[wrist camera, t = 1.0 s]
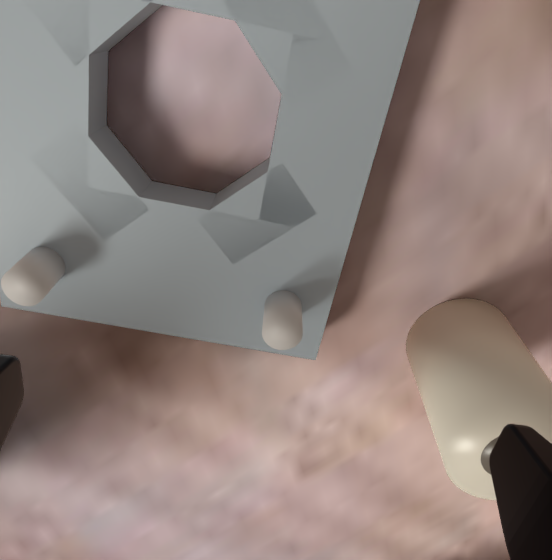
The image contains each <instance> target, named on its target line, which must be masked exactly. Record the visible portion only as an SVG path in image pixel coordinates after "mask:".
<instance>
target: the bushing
mask: <svg viewBox="0 0 552 560" xmlns="http://www.w3.org/2000/svg"><path fill="white" fill-rule="evenodd" d="M406 353H407V357H408V360H409V363H410V366H411V368H412V371H413V374H414V377H415V380H416V383H417V386H418V389H419V392H420V395H421V398H422V401H423V404H424V407H425V410H426V413H427V416H428V419H429V422H430V425H431V428H432V431H433V434H434V437H435V440H436V443H437V446H438V448H439V451H440V454H441V457H442V460H443V463H444V466H445V469H446V472H447V475H448V476H449V478H450V480H451V481H452V482H453V483H454V484H455V485H456V486H457V487H458V488H459V489H461V490H462V491H464V492H466V493H468V494H470V495H472V496H475V497H478V498H482V499H487V500H496V495H495V491H494V486H493V481H492V476H491V472H490V466H489V457H490V453H491V451H492V449H493V447H494V445H495V443H496V441H497V439H498V437H499V435H500V434H501V432H502V430H503V428H504V427H505V426H506V425H507V424H518V425H525V426H529V427H531V428H533V429H534V430H535V431H537V432H538V433H539V434H540V435H542V436H543V437H544V438H545V439H546V440H548V441H549V442H550V443H551V444H552V383H551V381H550V380H549V378H548V377H547V375H546V374H545V373H544V371H543V370H542V368H541V367H540V365H539V364H538V363H537V361H536V360H535V358H534V357H533V356H532V354H531V353H530V351H529V350H528V348H527V347H526V346H525V344H524V343H523V341H522V340H521V338H520V337H519V336H518V334H517V333H516V331H515V330H514V329H513V327H512V326H511V324H510V323H509V321H508V320H507V319H506V317H505V316H504V314H503V313H502V312H501V311H500V310H499V309H498V308H496V307H495V306H493V305H491V304H490V303H487V302H485V301H481V300H477V299H455V300H450V301H446V302H443V303H441V304H438V305H436V306H434V307H432V308H431V309H429V310H428V311H426V312H425V313H424V314H422V315H421V316H420V317H419V318H418V319H417V320H416V322H415V323H414V324H413V326H412V327H411V329H410V331H409V333H408V336H407V340H406Z"/></svg>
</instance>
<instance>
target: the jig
mask: <svg viewBox="0 0 552 560" xmlns="http://www.w3.org/2000/svg"><path fill="white" fill-rule="evenodd" d="M419 2H420V0H0V298H1V306H2V307H8V308H14V309H20V310H26V311H32V312H37V313H43V314H49V315H55V316H61V317H67V318H72V319H78V320H84V321H90V322H96V323H102V324H107V325H113V326H119V327H125V328H131V329H136V330H142V331H148V332H154V333H160V334H166V335H171V336H177V337H183V338H189V339H195V340H201V341H206V342H212V343H218V344H224V345H230V346H235V347H241V348H247V349H253V350H259V351H265V352H270V353H276V354H282V355H288V356H294V357H300V358H305V359H311V360H316V357H317V353H318V350H319V346H320V343H321V339H322V336H323V332H324V329H325V326H326V322H327V319H328V315H329V312H330V308H331V305H332V301H333V298H334V295H335V291H336V288H337V284H338V281H339V277H340V274H341V271H342V267H343V264H344V260H345V257H346V253H347V250H348V246H349V243H350V240H351V236H352V233H353V229H354V226H355V222H356V219H357V215H358V212H359V209H360V205H361V202H362V198H363V195H364V191H365V188H366V185H367V181H368V178H369V174H370V171H371V167H372V164H373V160H374V157H375V154H376V150H377V147H378V143H379V140H380V136H381V133H382V129H383V126H384V123H385V119H386V116H387V112H388V109H389V105H390V102H391V98H392V95H393V92H394V88H395V85H396V81H397V78H398V74H399V71H400V68H401V64H402V61H403V57H404V54H405V50H406V47H407V43H408V40H409V37H410V33H411V30H412V26H413V23H414V19H415V16H416V12H417V9H418V6H419ZM162 5H165V6H170V7H175V8H179V9H184V10H189V11H193V12H198V13H202V14H207V15H212V16H216V17H221V18H225V19H230V20H235V21H236V23H237V25H238V26H239V28H240V29H241V31H242V32H243V34H244V36H245V37H246V39H247V40H248V42H249V44H250V45H251V47H252V48H253V50H254V51H255V53H256V55H257V56H258V58H259V59H260V61H261V63H262V64H263V66H264V67H265V69H266V70H267V72H268V74H269V75H270V77H271V78H272V80H273V82H274V83H275V85H276V86H277V88H278V89H279V91H280V93H281V94H282V96H281V101H280V106H279V112H278V117H277V122H276V128H275V133H274V138H273V144H272V149H271V154H270V158H269V159H267V160H266V161H264V162H263V163H261V164H260V165H258V166H257V167H255V168H254V169H252V170H251V171H249V172H248V173H246V174H245V175H243V176H242V177H240V178H239V179H237V180H236V181H234V182H233V183H231V184H230V185H228V186H227V187H225V188H224V189H222V190H221V191H219V192H218V193H211V192H206V191H200V190H195V189H190V188H185V187H180V186H175V185H169V184H164V183H159V182H154V181H151V179H150V178H149V177H148V176H147V174H146V173H145V172H144V171H143V170H142V168H141V167H140V166H139V165H138V163H137V162H136V161H135V160H134V158H133V157H132V156H131V155H130V153H129V152H128V151H127V150H126V149H125V147H124V146H123V145H122V144H121V142H120V141H119V140H118V139H117V137H116V136H115V135H114V134H113V133H112V131H111V130H110V129H109V128H108V126H107V87H108V51H109V50H110V49H111V48H112V47H114V46H115V45H116V44H117V43H118V42H120V41H121V40H122V39H123V38H124V37H125V36H127V35H128V34H129V33H130V32H131V31H133V30H134V29H135V28H136V27H137V26H138V25H140V24H141V23H142V22H143V21H144V20H146V19H147V18H148V17H149V16H150V15H151V14H153V13H154V12H155V11H156V10H157V9H159V8H160V7H161V6H162Z"/></svg>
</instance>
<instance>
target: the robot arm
mask: <svg viewBox="0 0 552 560" xmlns="http://www.w3.org/2000/svg"><path fill="white" fill-rule="evenodd" d="M23 395H24V389H23V381H22V373H21V366H20V361H19V359H18V358H17V357H15V356H10V355H3V354H0V449H1V447H2V445H3V443H4V441H5V438H6V436H7V434H8V432H9V430H10V428H11V425H12V423H13V421H14V419H15V417H16V415H17V412H18V410H19V408H20V406H21V404H22V400H23ZM489 466H490V472H491V476H492V481H493V486H494V491H495V495H496V500H497V505H498V510H499V514H500V519H501V524H502V529H503V533H504V538H505V542H506V546H507V549H508V553H509V556H510V560H552V444H551V443H550V442H549V441H548V440H546V439H545V438H544V437H543V436H542V435H540V434H539V433H538V432H537V431H535V430H534V429H533V428H531V427H529V426H525V425H518V424H507V425H506V426H505V427H504V428H503V430H502V432H501V434H500V435H499V437H498V439H497V441H496V443H495V445H494V447H493V449H492V451H491V453H490V457H489Z"/></svg>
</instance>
